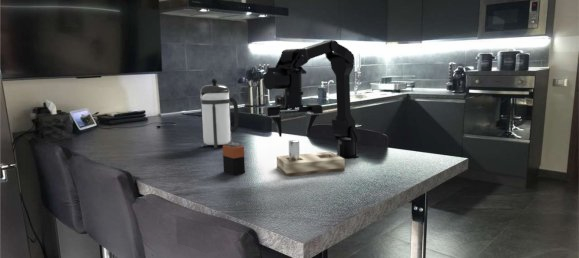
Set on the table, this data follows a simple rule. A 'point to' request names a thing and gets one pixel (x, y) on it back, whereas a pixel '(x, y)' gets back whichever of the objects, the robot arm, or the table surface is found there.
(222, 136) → the coffee press
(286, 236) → the table surface
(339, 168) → the bore block
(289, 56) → the robot arm
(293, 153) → the pin
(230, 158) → the battery
